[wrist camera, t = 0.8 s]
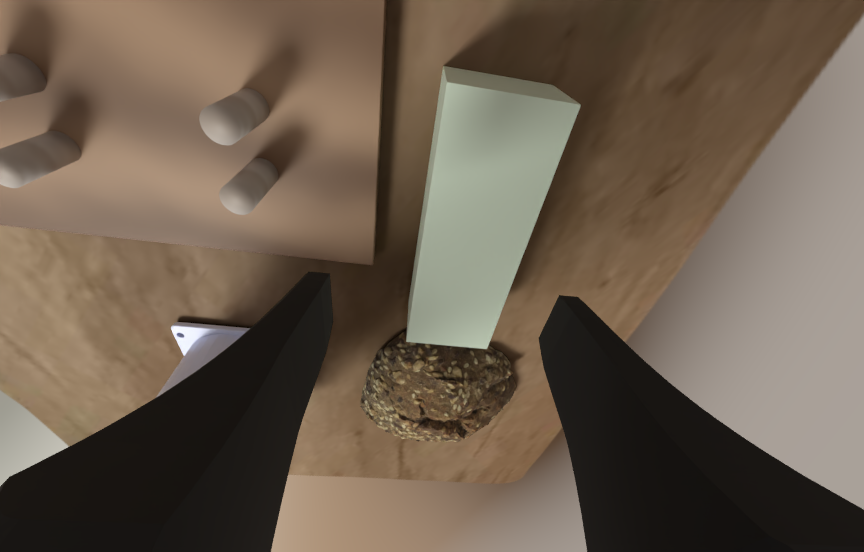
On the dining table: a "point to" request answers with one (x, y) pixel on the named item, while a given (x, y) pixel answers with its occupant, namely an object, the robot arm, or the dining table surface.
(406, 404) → the bread roll
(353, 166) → the peg base
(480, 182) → the pale green rectangular block
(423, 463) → the dining table surface
